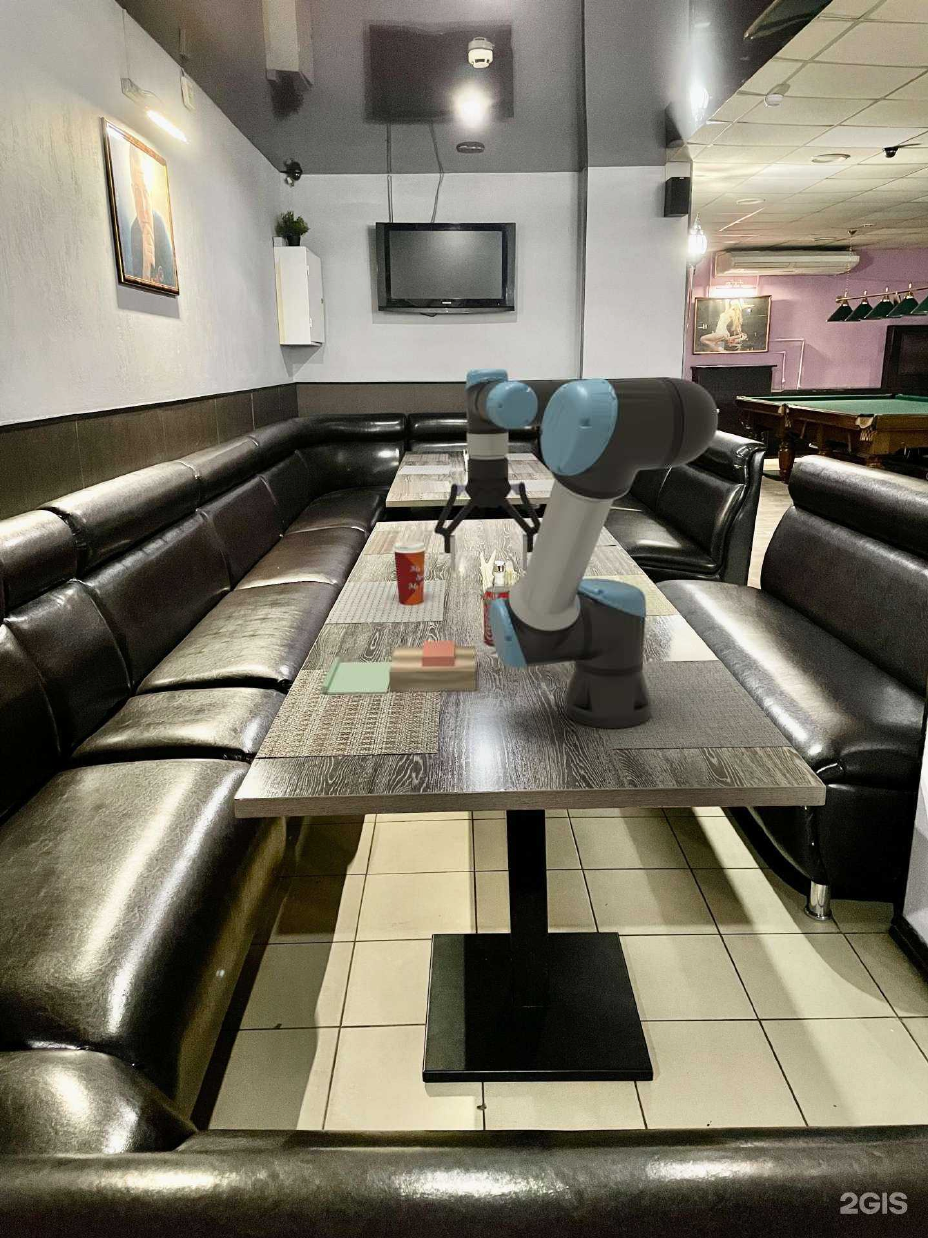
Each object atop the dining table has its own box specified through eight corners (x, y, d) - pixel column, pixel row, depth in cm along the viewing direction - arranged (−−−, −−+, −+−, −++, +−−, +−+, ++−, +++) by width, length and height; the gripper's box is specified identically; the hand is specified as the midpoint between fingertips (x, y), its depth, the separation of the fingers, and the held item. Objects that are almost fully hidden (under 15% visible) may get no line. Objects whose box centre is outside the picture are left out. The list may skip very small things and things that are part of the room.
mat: (386, 693, 162) (386, 685, 162) (322, 694, 163) (321, 686, 162) (394, 663, 178) (393, 656, 177) (335, 664, 178) (334, 657, 177)
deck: (475, 690, 163) (475, 670, 162) (390, 691, 163) (389, 671, 162) (475, 664, 176) (475, 646, 175) (396, 665, 177) (395, 646, 175)
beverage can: (477, 642, 190) (477, 589, 186) (497, 635, 194) (497, 583, 190) (498, 648, 186) (498, 594, 182) (518, 641, 190) (518, 588, 186)
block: (454, 666, 164) (453, 656, 164) (422, 666, 164) (421, 656, 164) (454, 650, 173) (454, 640, 172) (424, 650, 173) (424, 641, 172)
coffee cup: (420, 607, 216) (418, 548, 211) (389, 605, 218) (387, 546, 214) (432, 598, 223) (431, 541, 219) (402, 596, 226) (400, 539, 221)
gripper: (554, 453, 163) (553, 564, 169) (421, 455, 164) (424, 565, 170) (557, 457, 156) (556, 573, 162) (418, 459, 157) (421, 574, 163)
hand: (488, 569), depth 166 cm, fingers open, 13 cm apart
